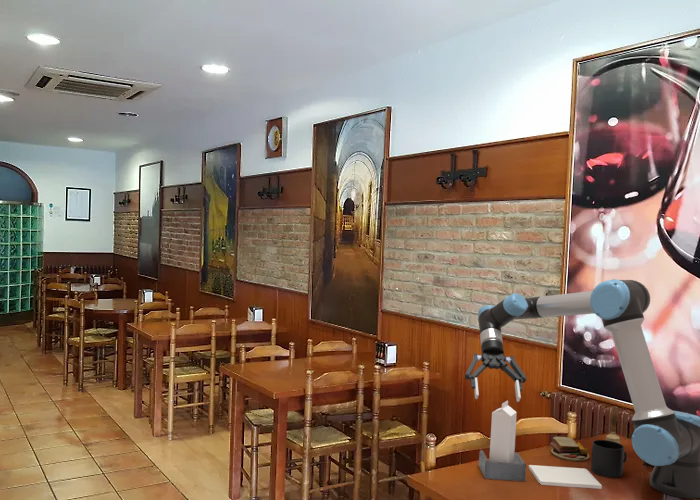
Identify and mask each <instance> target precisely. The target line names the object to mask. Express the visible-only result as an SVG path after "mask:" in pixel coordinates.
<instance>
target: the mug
mask: <svg viewBox="0 0 700 500" xmlns="http://www.w3.org/2000/svg"><path fill="white" fill-rule="evenodd" d="M590 458H591V459H590V460H591V461H590V470H591V472H592V473H594V474H596V475H599V476H600V477H605V478H612V479H616V478H622V477H623V475H624V474H623V473H624V464H625V463H626V462H627V459H628V454H627V452H626V451H625V446H624V445H623V444H621V443H620V444H619V443H617V442H613V441H608V440H606V439H596V440H593V441H592V443H591V457H590Z"/></svg>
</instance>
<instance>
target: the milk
mask: <svg viewBox="0 0 700 500" xmlns="http://www.w3.org/2000/svg"><path fill="white" fill-rule="evenodd" d="M517 413H518V412H517V411H516V410H515V409H513V408H512V407H511V406H510V405H509V400H506V401H504V402H502V403H501V407H499V408H497V409H496V410H494V411H492V413H491V423H490V424H491V425H490V426H491V427H490V443H489V459H488V461H493V462H508V463H514V452H515V449H516V434H517V433H516V431H517V430H516V429H517Z"/></svg>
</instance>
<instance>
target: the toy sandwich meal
mask: <svg viewBox="0 0 700 500" xmlns="http://www.w3.org/2000/svg"><path fill="white" fill-rule="evenodd" d="M549 446H550V447H551V449H550V452H551V453H552V455H553V456H555V457H556V458H557V459H558V458H559V459H562V460H565V461H570V462H585V461H587V460H588V459H589V458H591V457H590V454H589V452H588V451H589V449H588V448H584V446H583V445H582V444H581V443H580V442H576V441H574V439H573V438H570V437H567V436H566V437H565V436H554V437H552V441H551V442H550V443H549Z"/></svg>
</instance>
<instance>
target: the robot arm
mask: <svg viewBox="0 0 700 500" xmlns="http://www.w3.org/2000/svg"><path fill="white" fill-rule="evenodd" d="M650 304H651V295H650V292H649V289H648V288H647V287H646V286H645V285H644V284H643V283H641V282H639V281H637V280H634V279H614V278H612V279H608V280H604V281H602V282H600V283H598V284H597V285H595V287H594V288H593V290H590V291H589V290H588V291H582V292H571V293H562V294H554V295H553V294H551V295H544V296H543V295H542V296H534V297H532V296H531V297H524V296H523V295H522V294H519V293H518V292H517V293H516V292H513V293H512V294H510V295H507V296H506V297H505V298H504V299H503V300H501V301H500V302H499V303H497V304H495V305H491V304H488V305H483V306H482V307H480V309H478V313H477V314H478V315H477V321H478V328H479V338H480V350H481V354H480V355H479V354H478V353H474V354H473V357H472V360H471V363H470V365H469V367H468V368H467V370H466V372H465V375H464V379H465V380H468V381H469V382H470V389H472V390H474V399H475V400H478V399H479V395H480V394H479V382H478V377H479V376H480V375H481V374H482V373H483V372H484V371H485V370H486V369H487V368H488V369H489V370H491V369H494V370H499V369H500V370H501V372H504V373H505V374H507V376H508V377H509V378H510V379H512V380H513V382H514V390H515V391H514V392H515V398H516V399H515V400H516V402H517V403H518V402H519V403H520V400H521V399H522V396H521V393H522V390H523V384H524V383H526V381H527V378H528V377H527V376H526V374H525V373H524V372H523V370H522V368H521V367H520V366H519V364H518V363H517V362H516V360H515V356H514V355H510V356H505V351H504V344H503V343H504V342H503V334H502V328H503V327H505V326H506V325H508V324H509V323H511V322H512V321H514V320H515V321H516V320H525V319H526V320H527V319H528V320H529V319H530V320H531V319H540V318H551V317H552V318H553V317H566V316H567V317H568V316H579V315H594V314H595V315H596V316H597V317H599V318H600V319H601V322H602V324H603V329H605V330H606V331H609V332H610V334H611V336H612V340H613V343H614V347H615V350H616V353H617V355H618V359H619V363H620V366H621V370H622V372H623V375H624V379H625V383H626V386H627V389H628V392H629V396H630V400H631V403H632V406H633V409H634V415H633V416H632V418H631V422H632V424H633V428H634V431H633V433H632V435H631V445H632V448H633V451H634V452H635V454H636V455H637V457H638V458H639V459H640V460H642V461H643V462H645V463H647V464H648V465H651V466H654V467H653V469H652V471H651V474H650V477H649V485H650V487H652V488H653V489H655V490H657V491H658V492H661V493H662V494H663V493H664V494H666V495H669V496H671V497H677V498H681V499H687V500H688V499H689V500H692V499H693V500H696V499H695V498H700V416H699V415H696V414H692V413H687V412H684V411H678V410H672V409H671V408H669V407H668V406H667V404H666V401H665V398H664V395H663V391H662V388H661V385H660V383H659V382H660V381H659V379H658V375H657V372H656V369H655V365H654V362H653V360H652V359H653V358H652V356H651V353H650V350H649V347H648V344H647V341H646V337H645V334H644V330H643V328H642V327H643V326H642V324H643V323H644V321H645V316H644V313H645V312H646V311H647V309H648V308H649V307H650ZM479 361H481V362H482V363H481V365H479V367H478V368H477V369H476V370H474V368H475V367H476V364H477V363H478V362H479ZM509 365H510V366H509ZM473 370H474V371H473ZM472 372H473V373H472ZM471 373H472V374H471Z"/></svg>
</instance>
